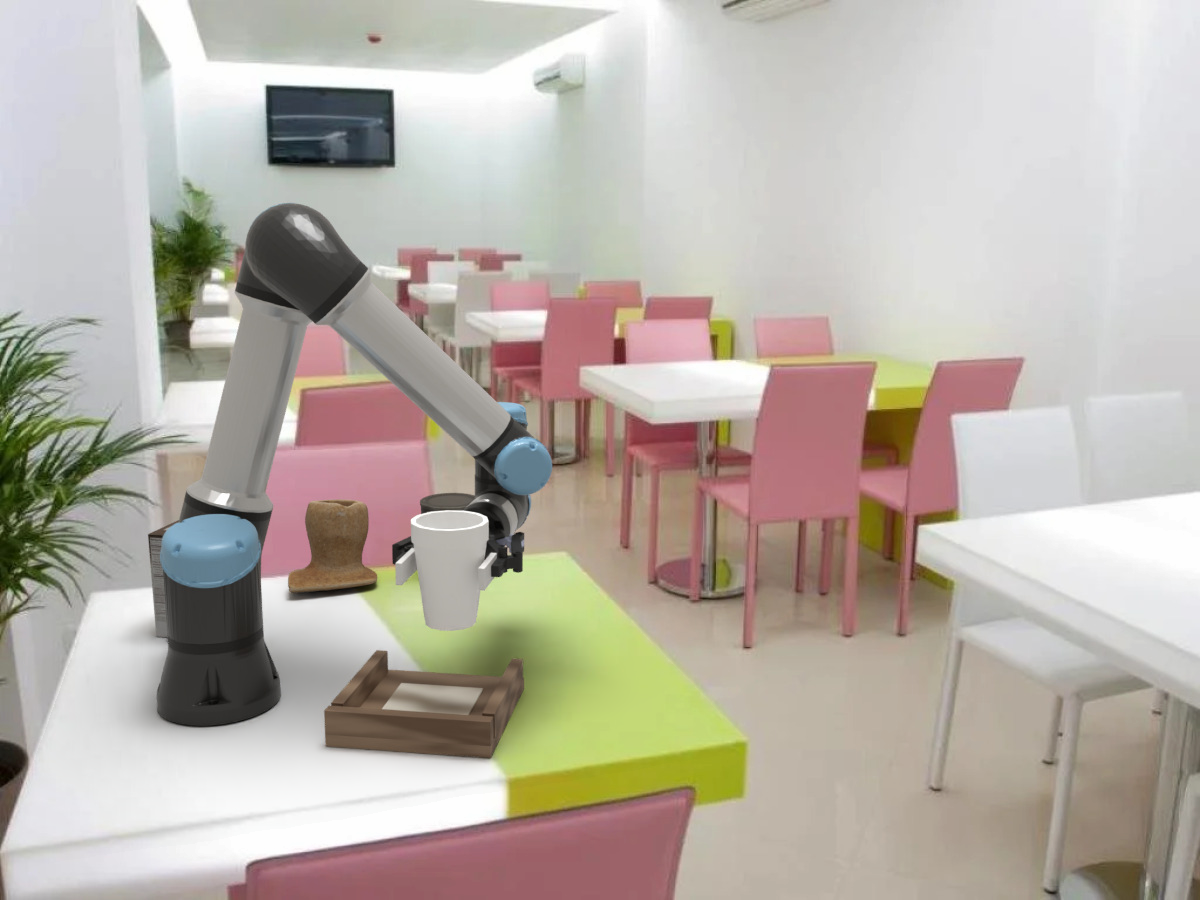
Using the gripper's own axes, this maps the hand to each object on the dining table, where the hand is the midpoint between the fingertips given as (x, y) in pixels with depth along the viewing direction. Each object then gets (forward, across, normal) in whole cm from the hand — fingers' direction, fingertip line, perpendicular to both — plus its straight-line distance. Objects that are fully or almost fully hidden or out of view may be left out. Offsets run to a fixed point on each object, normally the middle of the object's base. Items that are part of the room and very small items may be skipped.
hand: (439, 576), depth 134 cm
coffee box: (-28, +47, -20) cm, 58 cm away
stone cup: (-51, +34, -20) cm, 64 cm away
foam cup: (-4, 0, -7) cm, 9 cm away
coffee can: (-58, +15, -20) cm, 63 cm away
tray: (-4, +3, -20) cm, 20 cm away
